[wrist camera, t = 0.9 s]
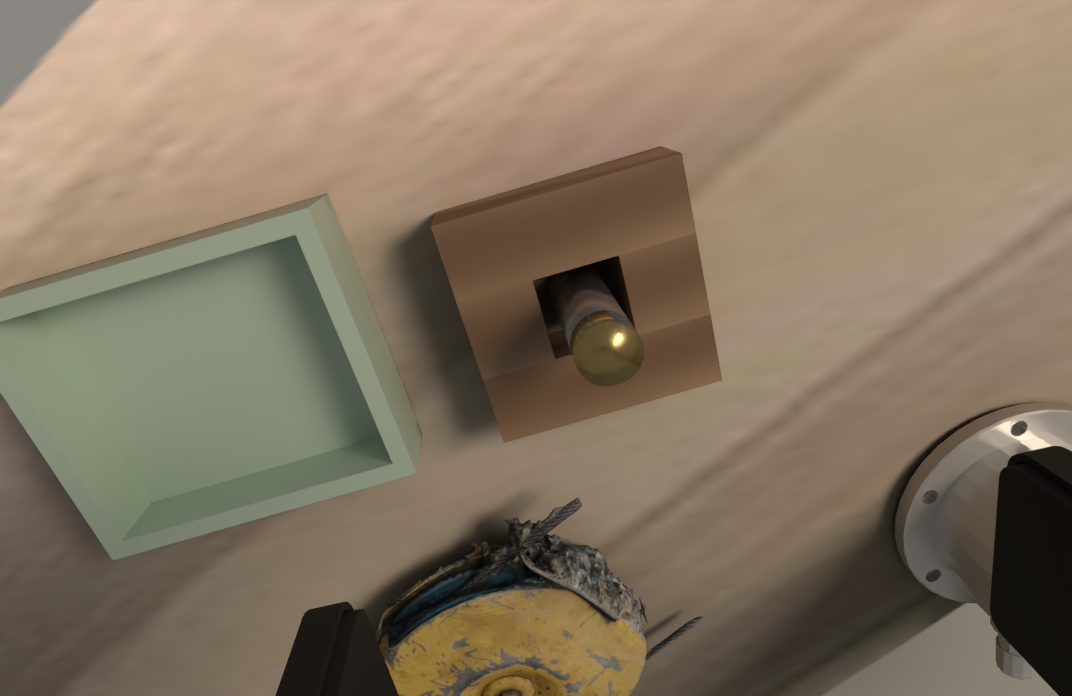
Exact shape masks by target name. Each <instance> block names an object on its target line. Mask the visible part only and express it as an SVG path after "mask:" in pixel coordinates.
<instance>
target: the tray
mask: <svg viewBox="0 0 1072 696" xmlns="http://www.w3.org/2000/svg"><path fill="white" fill-rule="evenodd" d="M0 393H1V394H2V396H3V397H4V399H5V400H6V402H7V403H8V405H9V406H10V408H11V409H12V411H13V412H14V414H15V415H16V417H17V418H18V420H19V421H20V423H21V424H22V426H23V427H24V429H25V430H26V432H27V433H28V435H29V436H30V438H31V439H32V441H33V442H34V444H35V445H36V447H37V448H38V450H39V451H40V453H41V454H42V456H43V457H44V459H45V460H46V462H47V463H48V465H49V466H50V468H51V469H52V471H53V472H54V474H55V475H56V477H57V478H58V480H59V481H60V482H61V484H62V485H63V487H64V488H65V490H66V491H67V493H68V494H69V496H70V497H71V499H72V500H73V502H74V503H75V505H76V506H77V508H78V509H79V511H80V512H81V514H82V515H83V517H84V518H85V520H86V521H87V523H88V524H89V526H90V527H91V529H92V530H93V532H94V533H95V535H96V536H97V538H98V539H99V541H100V542H101V544H102V545H103V547H104V548H105V550H106V551H107V553H108V554H109V556H110V557H111V559H112V560H117V559H120V558H124V557H127V556H131V555H134V554H138V553H141V552H145V551H148V550H152V549H155V548H159V547H162V546H166V545H169V544H173V543H176V542H180V541H183V540H187V539H190V538H194V537H197V536H201V535H204V534H208V533H211V532H215V531H218V530H222V529H225V528H229V527H232V526H236V525H239V524H243V523H246V522H250V521H253V520H257V519H260V518H264V517H267V516H271V515H274V514H278V513H281V512H285V511H288V510H292V509H295V508H299V507H302V506H306V505H309V504H313V503H316V502H320V501H323V500H327V499H330V498H334V497H337V496H341V495H344V494H348V493H351V492H355V491H358V490H362V489H365V488H369V487H372V486H376V485H379V484H383V483H386V482H390V481H393V480H397V479H400V478H404V477H407V476H410V475H414V474H417V468H418V461H419V454H420V447H421V441H422V432H421V429H420V427H419V424H418V422H417V419H416V417H415V414H414V412H413V409H412V407H411V404H410V401H409V399H408V396H407V394H406V391H405V389H404V386H403V384H402V381H401V379H400V376H399V374H398V371H397V369H396V366H395V363H394V361H393V358H392V356H391V353H390V351H389V348H388V346H387V343H386V341H385V338H384V336H383V333H382V331H381V328H380V325H379V323H378V320H377V318H376V315H375V313H374V310H373V308H372V305H371V303H370V300H369V298H368V295H367V292H366V290H365V287H364V285H363V282H362V280H361V277H360V275H359V272H358V270H357V267H356V265H355V262H354V260H353V257H352V254H351V252H350V249H349V247H348V244H347V242H346V239H345V237H344V234H343V232H342V229H341V227H340V224H339V222H338V219H337V216H336V214H335V211H334V209H333V206H332V204H331V201H330V199H329V196H328V194H324V195H320V196H317V197H314V198H310V199H307V200H303V201H300V202H297V203H293V204H290V205H286V206H283V207H280V208H276V209H273V210H270V211H266V212H263V213H259V214H256V215H253V216H249V217H246V218H242V219H239V220H236V221H232V222H229V223H226V224H222V225H219V226H215V227H212V228H209V229H205V230H202V231H198V232H195V233H192V234H188V235H185V236H182V237H178V238H175V239H171V240H168V241H165V242H161V243H158V244H154V245H151V246H148V247H144V248H141V249H138V250H134V251H131V252H127V253H124V254H121V255H117V256H114V257H110V258H107V259H104V260H100V261H97V262H94V263H90V264H87V265H83V266H80V267H77V268H73V269H70V270H66V271H63V272H60V273H56V274H53V275H50V276H46V277H43V278H39V279H36V280H33V281H29V282H26V283H22V284H19V285H16V286H12V287H9V288H7V289H5V290H2V291H0Z"/></svg>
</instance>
